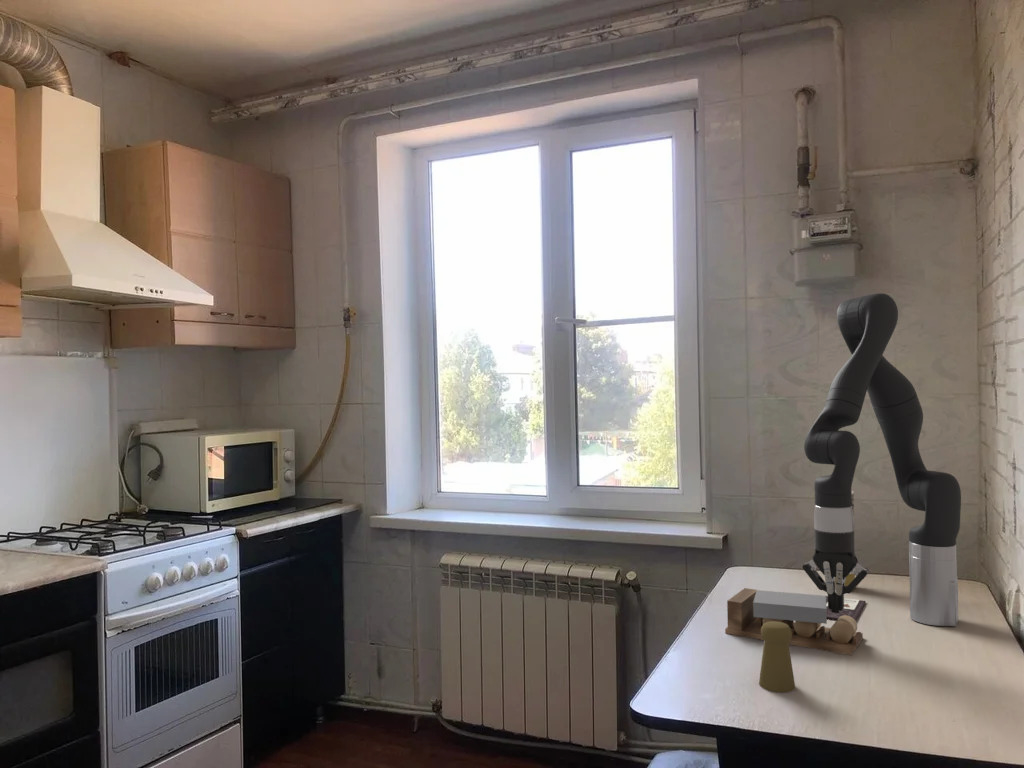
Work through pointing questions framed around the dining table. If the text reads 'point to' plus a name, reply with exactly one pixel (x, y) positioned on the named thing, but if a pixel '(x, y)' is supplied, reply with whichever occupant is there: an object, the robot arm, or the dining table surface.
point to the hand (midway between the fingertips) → (836, 611)
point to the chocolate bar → (846, 609)
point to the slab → (790, 606)
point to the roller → (772, 620)
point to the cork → (776, 658)
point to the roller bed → (793, 627)
